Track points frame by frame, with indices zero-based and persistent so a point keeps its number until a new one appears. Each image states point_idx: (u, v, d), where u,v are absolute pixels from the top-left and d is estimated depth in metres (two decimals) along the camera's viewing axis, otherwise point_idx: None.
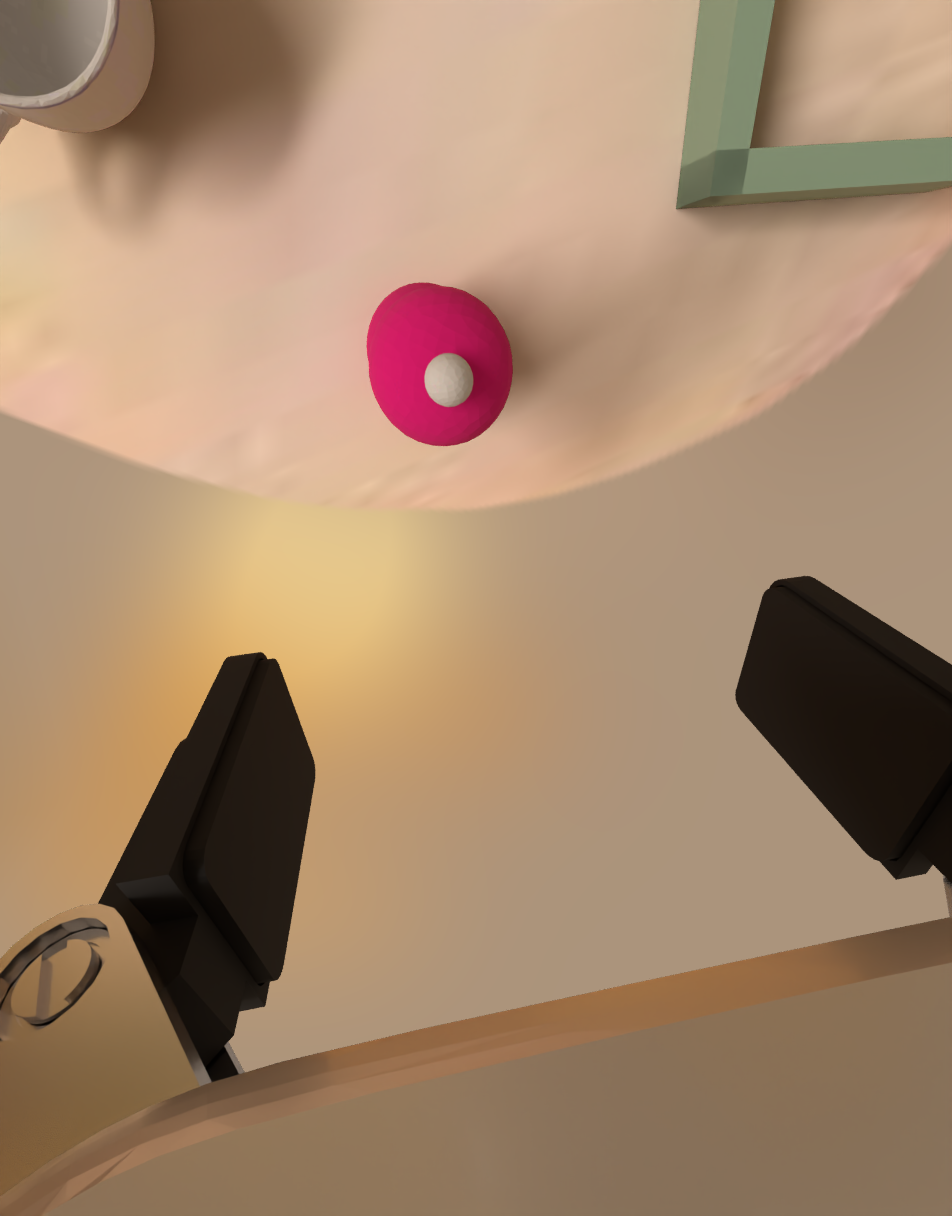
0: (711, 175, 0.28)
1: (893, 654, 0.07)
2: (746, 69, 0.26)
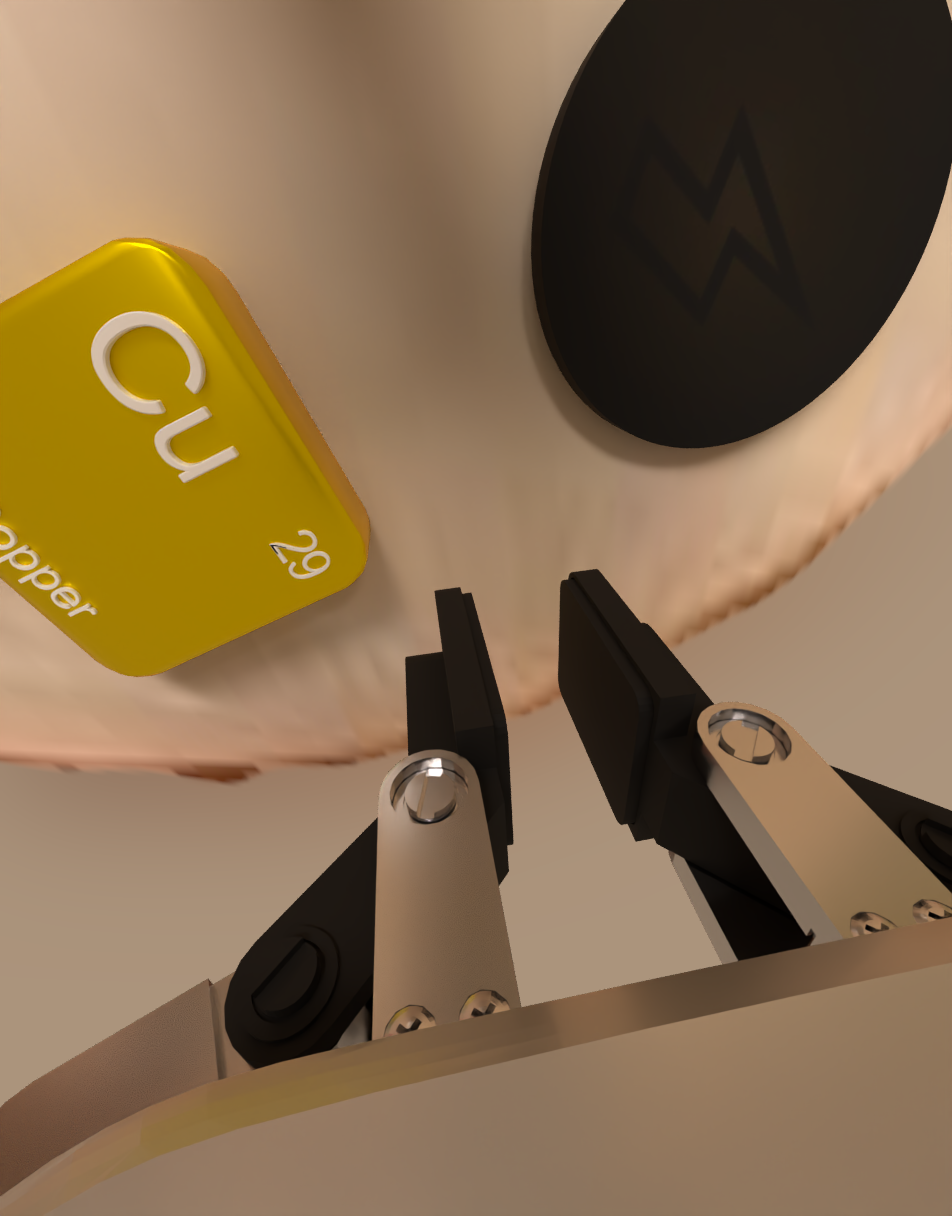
0: None
1: (616, 637, 0.08)
2: None
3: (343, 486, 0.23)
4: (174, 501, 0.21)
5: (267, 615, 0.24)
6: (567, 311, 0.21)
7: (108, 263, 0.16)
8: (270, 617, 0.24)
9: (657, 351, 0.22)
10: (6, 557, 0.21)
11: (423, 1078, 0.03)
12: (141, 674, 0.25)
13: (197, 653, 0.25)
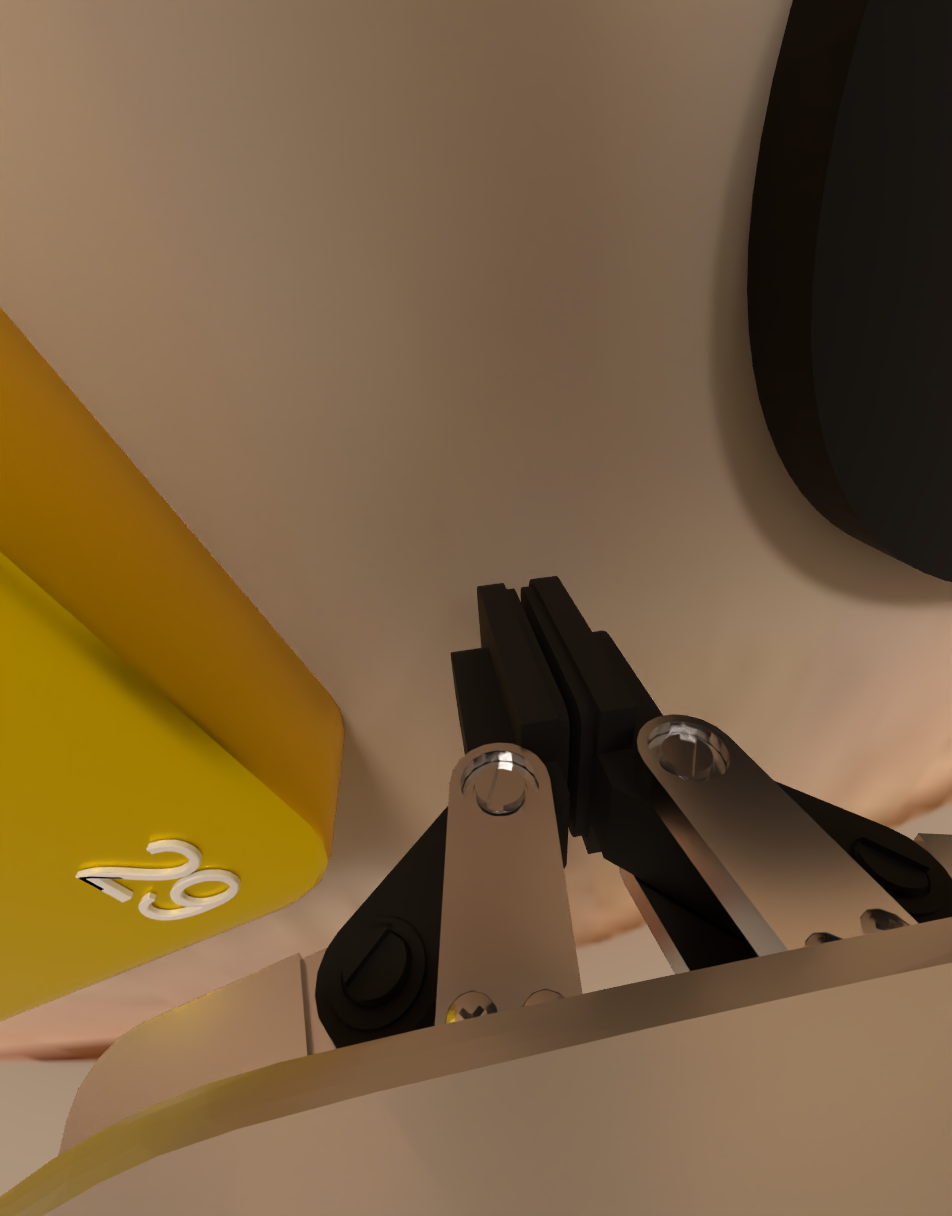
0: None
1: (566, 647, 0.07)
2: None
3: (274, 691, 0.10)
4: None
5: (108, 973, 0.11)
6: (862, 291, 0.08)
7: None
8: (117, 972, 0.11)
9: None
10: None
11: (423, 1078, 0.03)
12: None
13: None
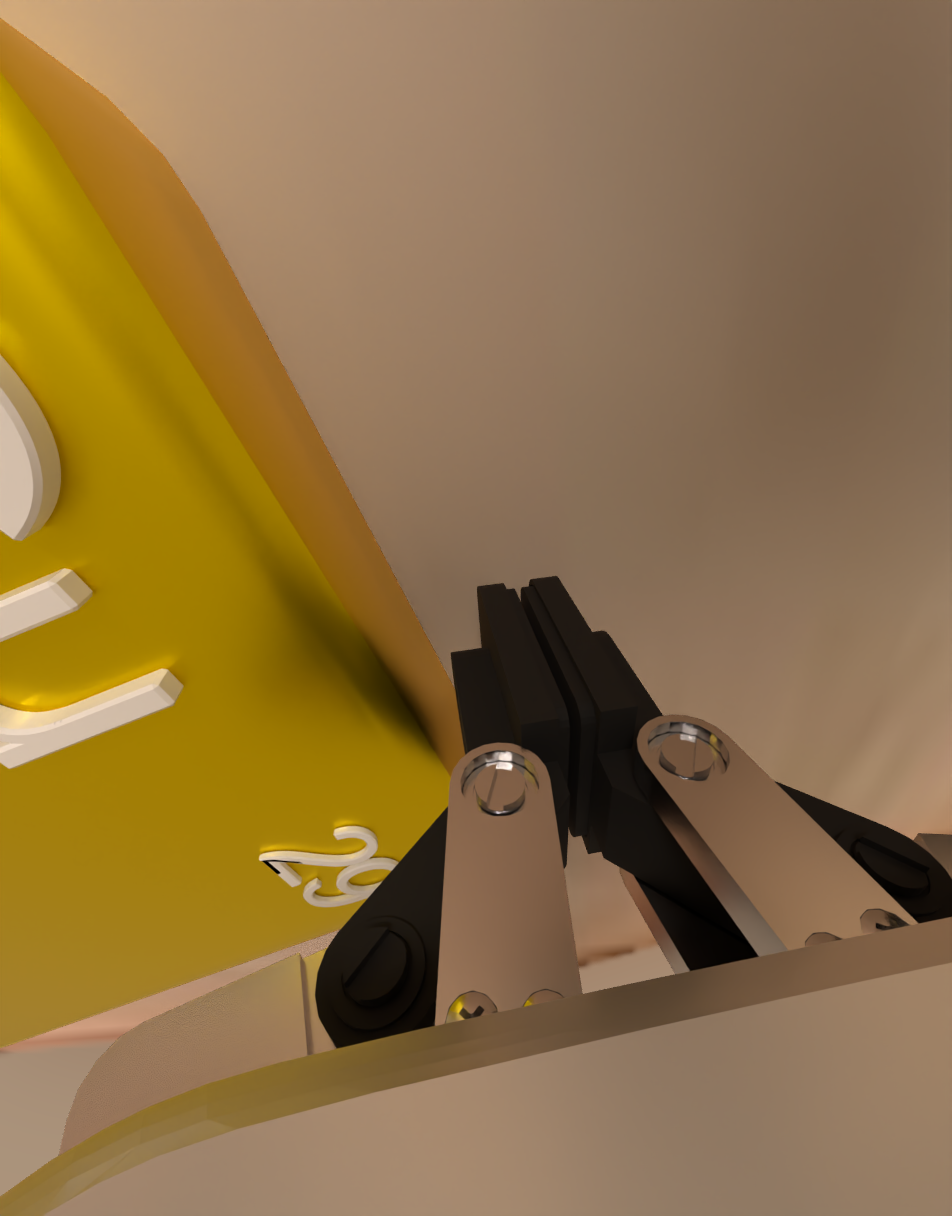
0: None
1: (565, 647, 0.07)
2: None
3: (434, 686, 0.10)
4: None
5: (246, 958, 0.11)
6: None
7: None
8: (253, 959, 0.11)
9: None
10: None
11: (423, 1077, 0.03)
12: None
13: (89, 1016, 0.11)
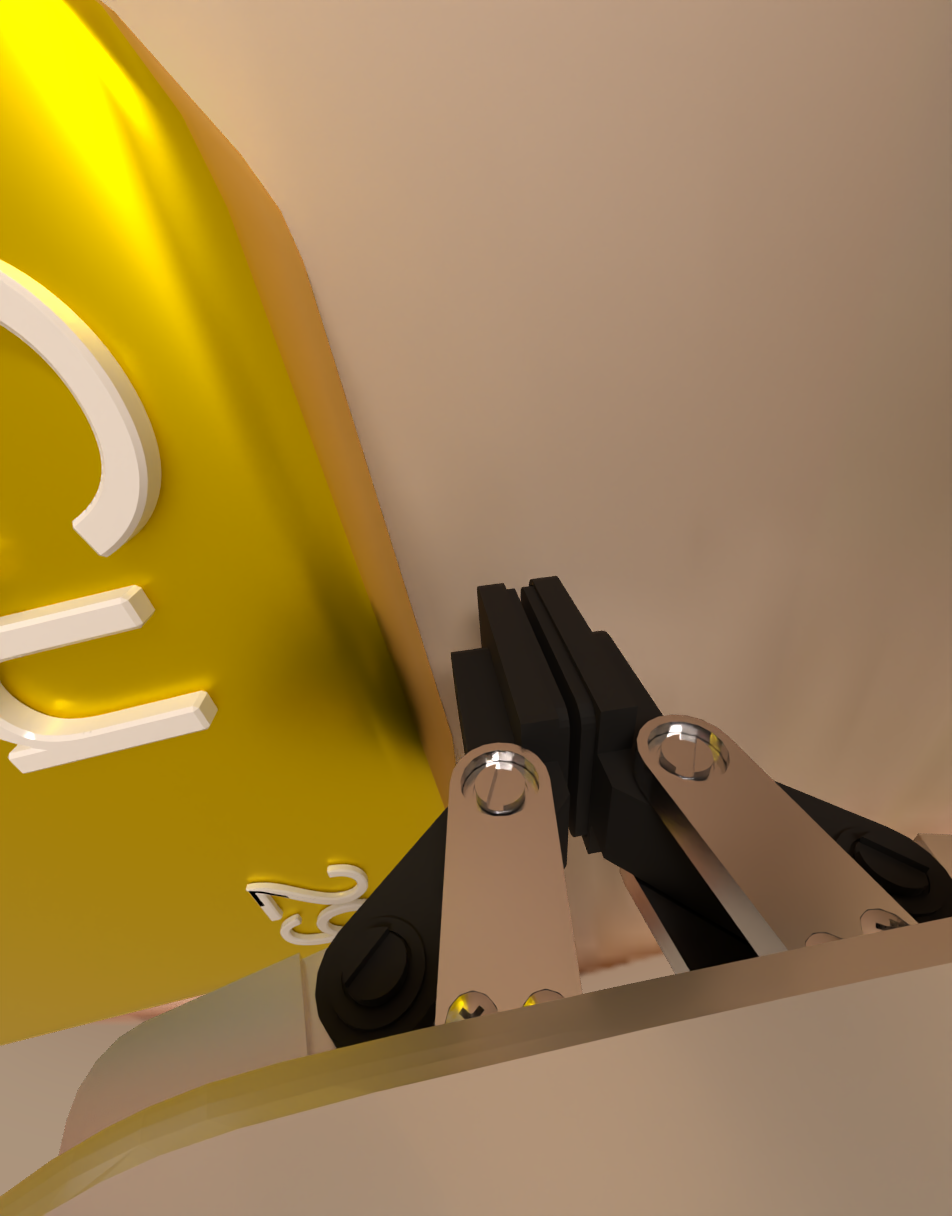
0: None
1: (566, 647, 0.07)
2: None
3: (439, 729, 0.11)
4: None
5: (203, 992, 0.10)
6: None
7: None
8: (209, 992, 0.10)
9: None
10: None
11: (423, 1077, 0.03)
12: None
13: (16, 1041, 0.10)
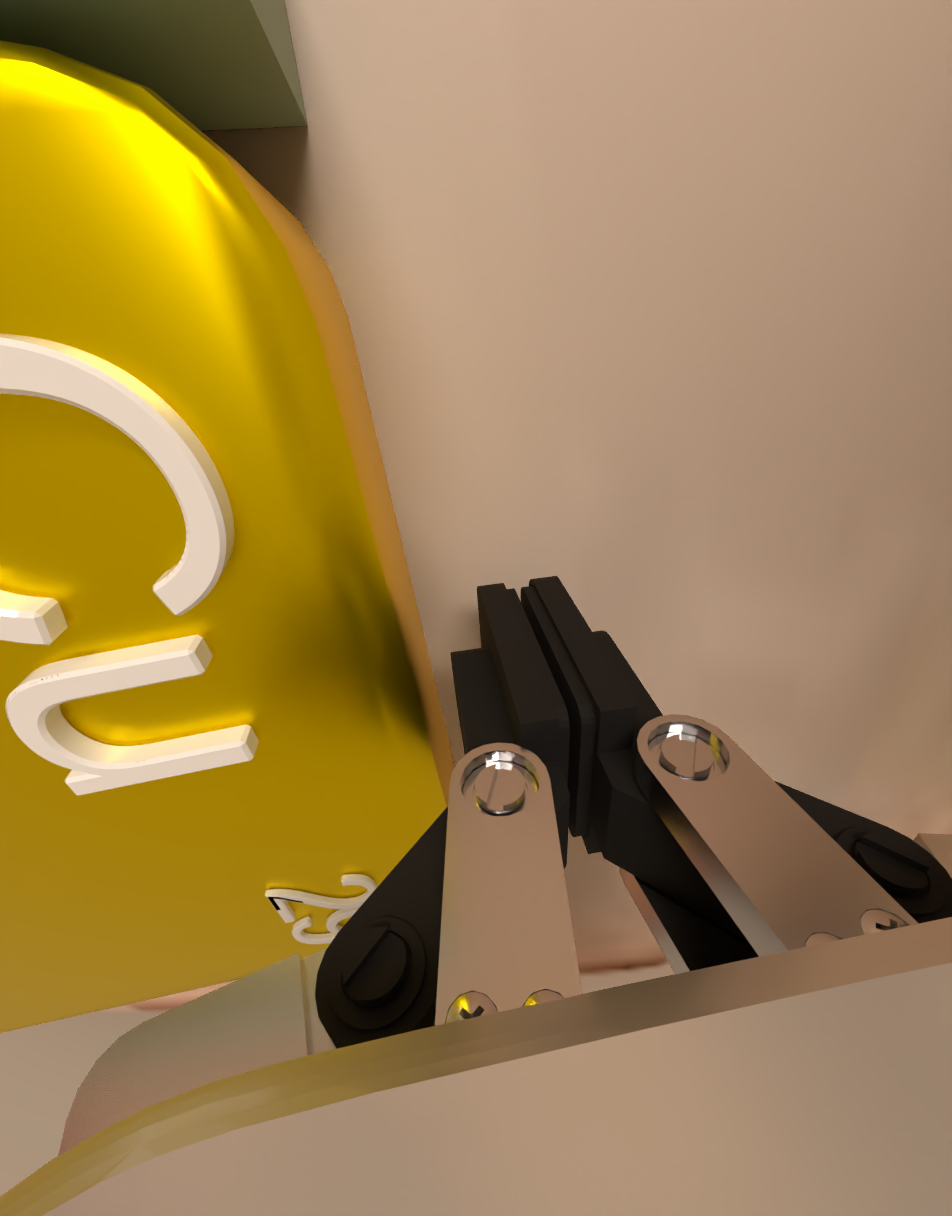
0: None
1: (566, 647, 0.07)
2: None
3: (444, 747, 0.11)
4: (40, 808, 0.08)
5: (212, 983, 0.11)
6: None
7: None
8: None
9: None
10: None
11: (424, 1078, 0.03)
12: None
13: None
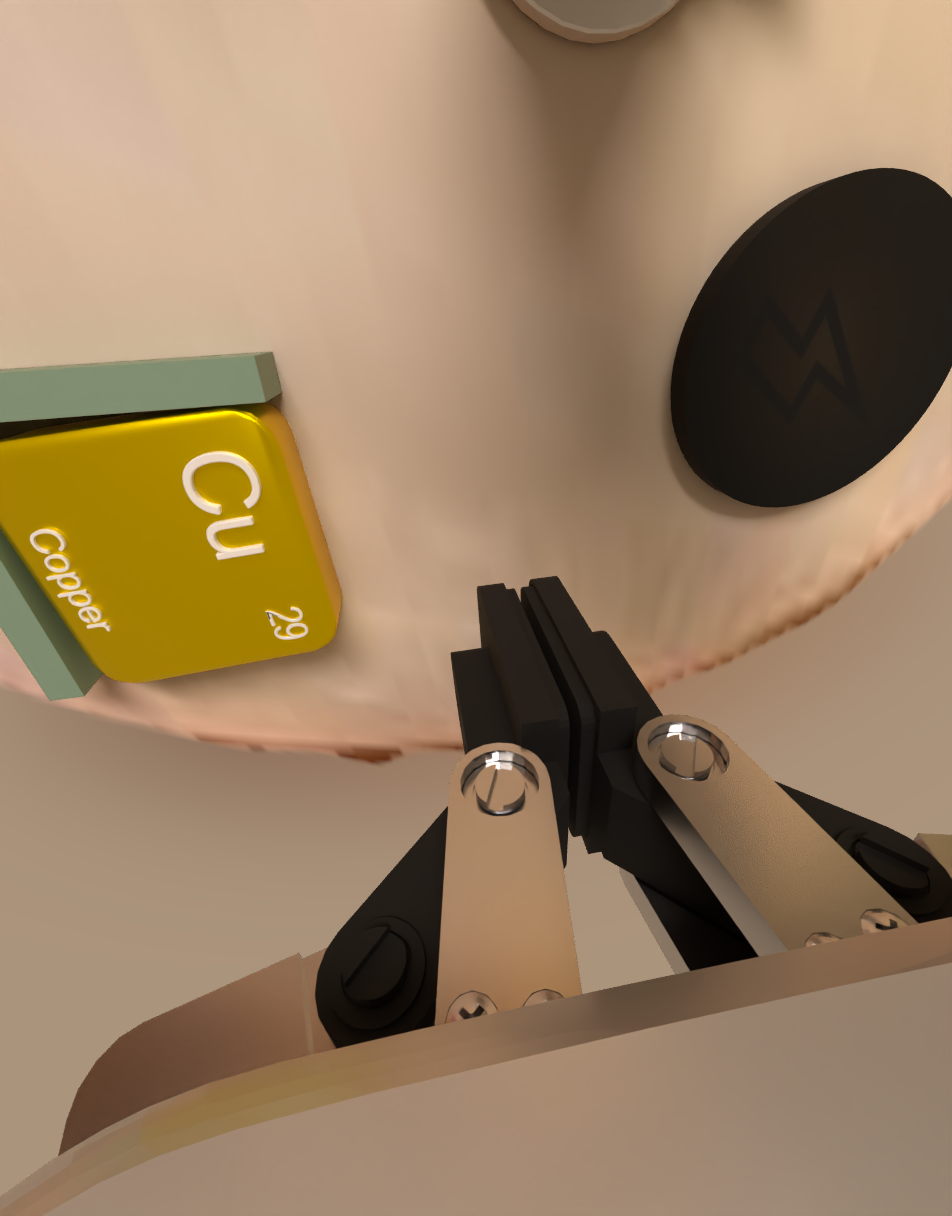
0: None
1: (566, 647, 0.07)
2: None
3: (331, 577, 0.31)
4: (204, 568, 0.27)
5: (245, 658, 0.31)
6: (698, 414, 0.29)
7: (217, 420, 0.24)
8: (247, 660, 0.31)
9: (757, 440, 0.31)
10: (56, 577, 0.26)
11: (423, 1078, 0.03)
12: (126, 681, 0.30)
13: (179, 674, 0.31)
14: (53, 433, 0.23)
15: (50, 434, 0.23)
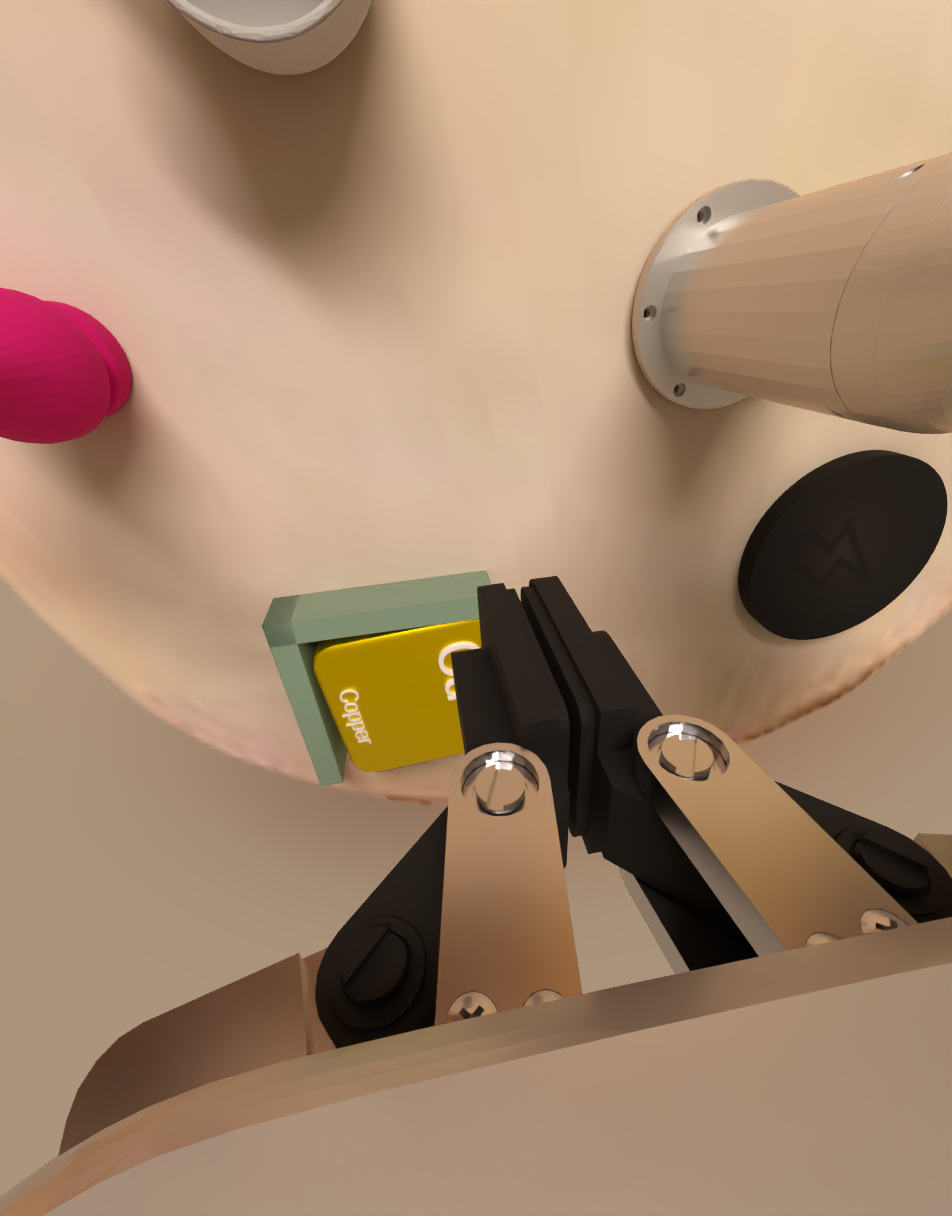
0: (275, 622, 0.36)
1: (565, 647, 0.07)
2: (336, 627, 0.36)
3: None
4: (437, 704, 0.42)
5: (449, 754, 0.45)
6: (758, 591, 0.43)
7: (464, 626, 0.38)
8: (449, 755, 0.45)
9: (797, 602, 0.45)
10: (348, 715, 0.41)
11: (423, 1077, 0.03)
12: (371, 771, 0.45)
13: (404, 765, 0.45)
14: (366, 638, 0.38)
15: (365, 639, 0.38)
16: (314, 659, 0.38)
